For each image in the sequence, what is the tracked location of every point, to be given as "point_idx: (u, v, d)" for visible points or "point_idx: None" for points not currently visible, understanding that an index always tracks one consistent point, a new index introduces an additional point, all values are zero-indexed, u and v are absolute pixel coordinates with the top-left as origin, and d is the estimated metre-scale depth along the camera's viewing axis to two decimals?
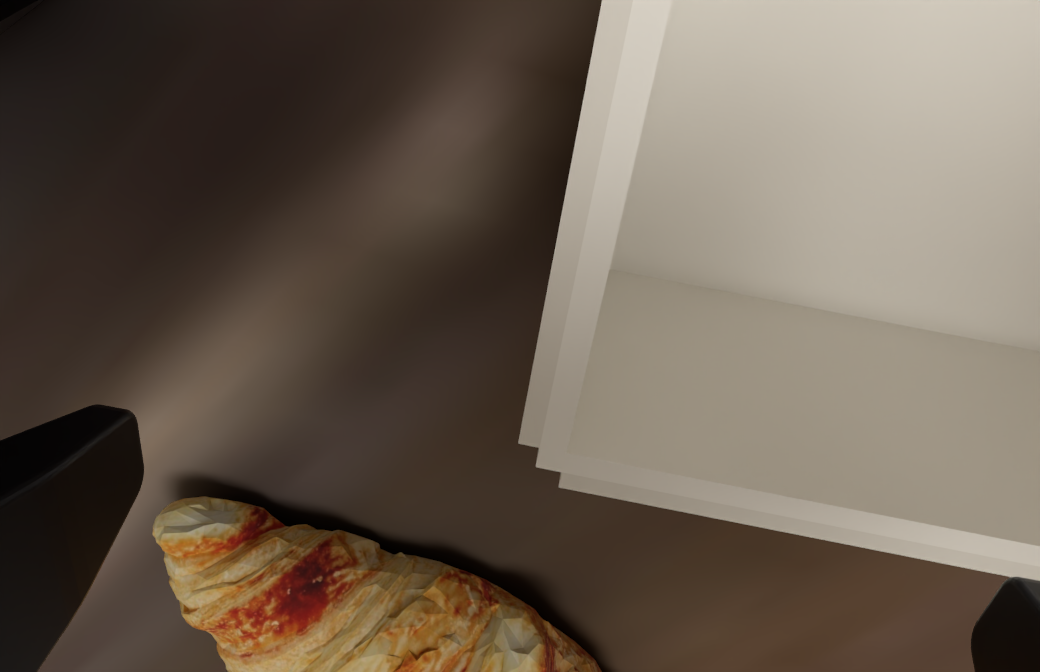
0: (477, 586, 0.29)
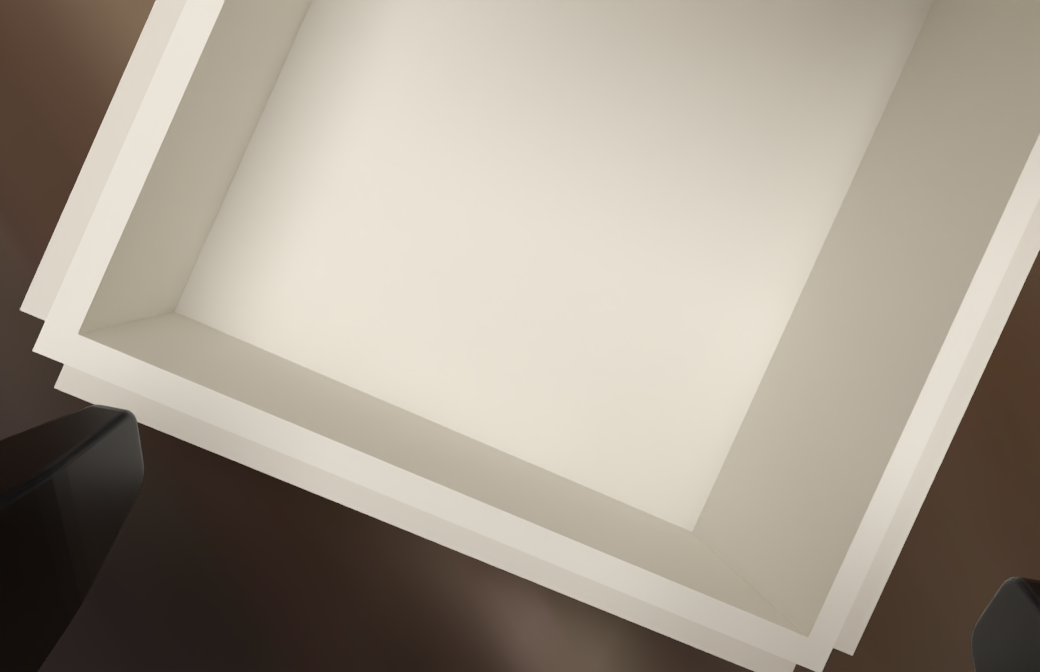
0: None
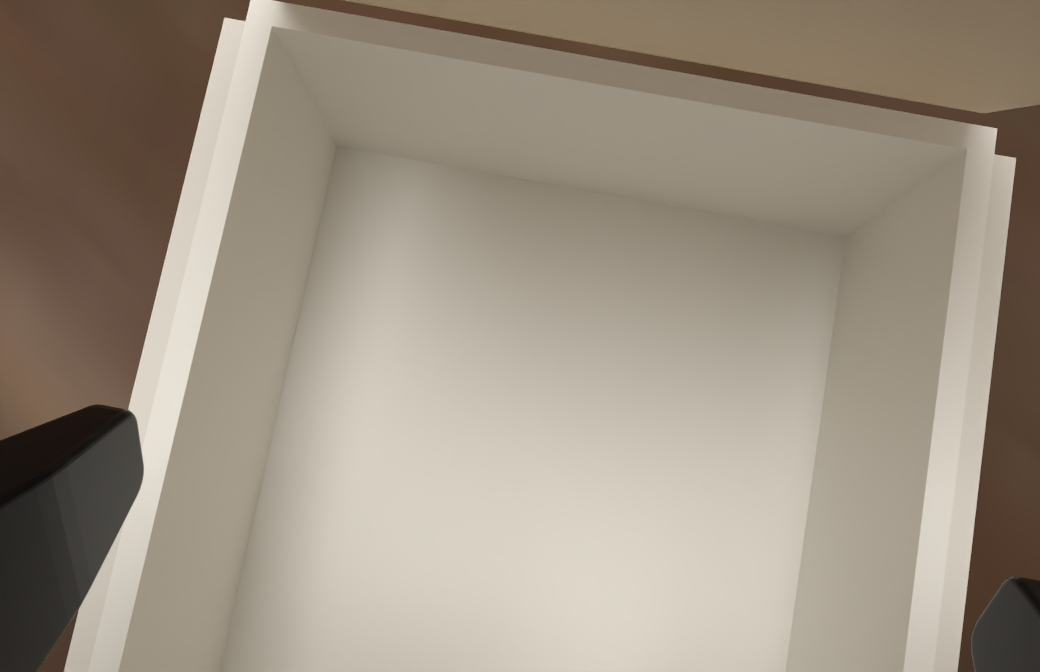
0: None
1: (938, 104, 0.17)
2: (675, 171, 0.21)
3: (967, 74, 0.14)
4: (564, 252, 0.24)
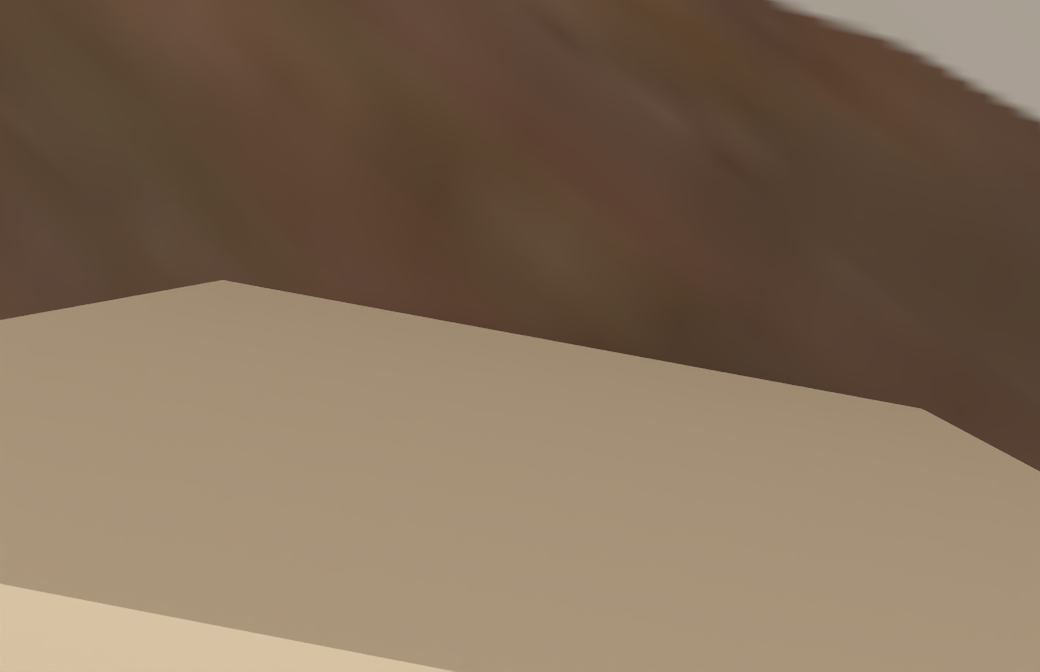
0: None
1: None
2: None
3: None
4: None
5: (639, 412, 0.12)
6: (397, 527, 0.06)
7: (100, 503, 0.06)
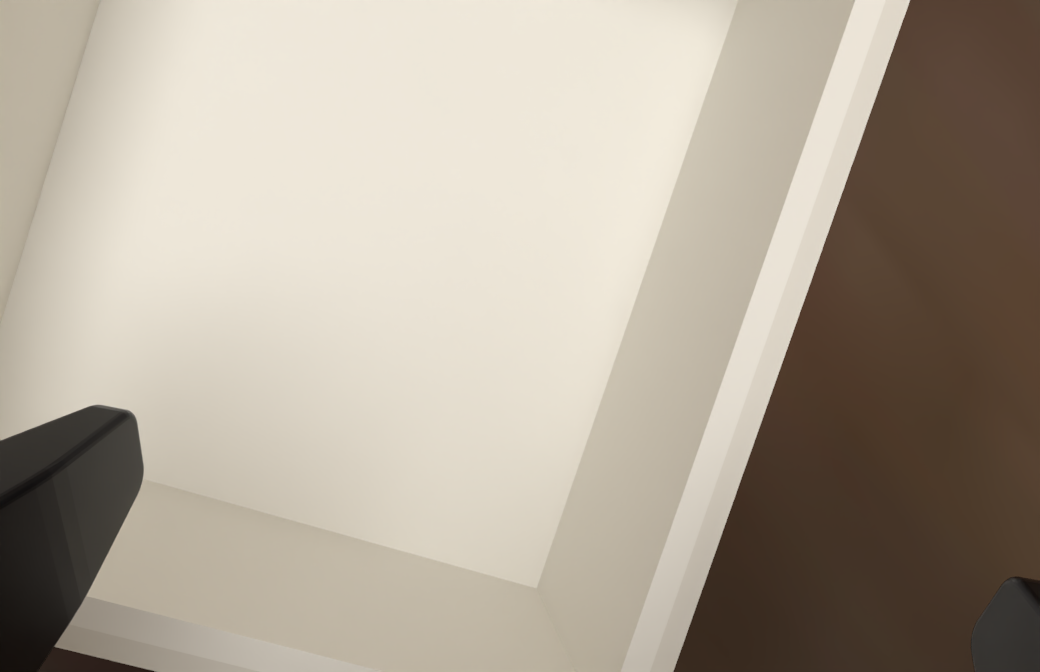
0: None
1: None
2: None
3: None
4: None
5: None
6: None
7: None
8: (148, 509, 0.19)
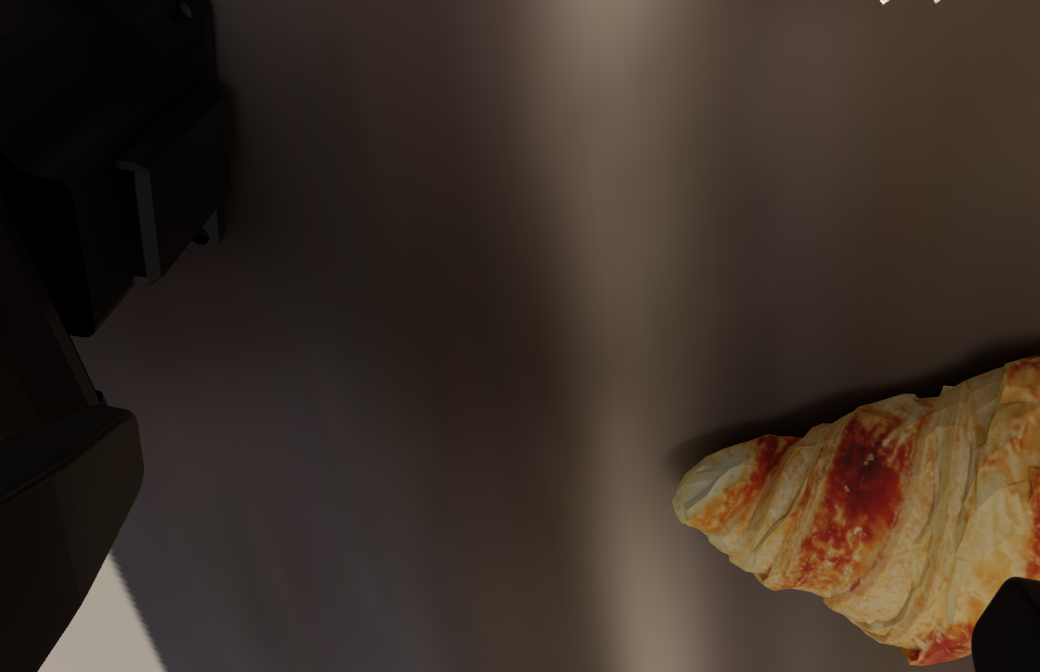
0: None
1: None
2: None
3: None
4: None
5: None
6: None
7: None
8: None
